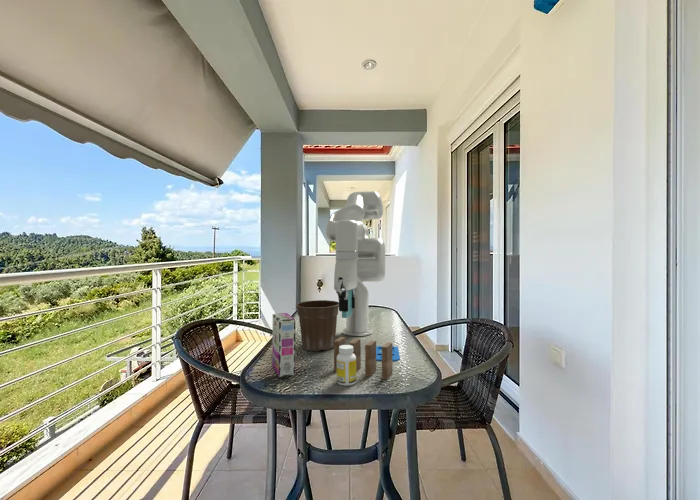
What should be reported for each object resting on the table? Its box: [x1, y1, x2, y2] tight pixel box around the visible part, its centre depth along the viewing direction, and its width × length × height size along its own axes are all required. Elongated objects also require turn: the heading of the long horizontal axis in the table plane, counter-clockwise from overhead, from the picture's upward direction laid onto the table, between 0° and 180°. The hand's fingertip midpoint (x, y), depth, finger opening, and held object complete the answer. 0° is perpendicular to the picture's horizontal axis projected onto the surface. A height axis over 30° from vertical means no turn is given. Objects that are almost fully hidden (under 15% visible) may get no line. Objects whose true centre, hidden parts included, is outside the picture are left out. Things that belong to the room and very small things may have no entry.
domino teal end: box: [341, 289, 352, 319], centre depth 116 cm, size 2×5×9 cm, turn 156°
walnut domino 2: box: [348, 338, 362, 373], centre depth 101 cm, size 2×5×9 cm, turn 156°
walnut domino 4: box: [381, 341, 393, 380], centre depth 97 cm, size 2×5×9 cm, turn 156°
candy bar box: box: [271, 312, 296, 378], centre depth 102 cm, size 11×5×16 cm, turn 23°
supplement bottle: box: [336, 344, 357, 387], centre depth 93 cm, size 5×5×10 cm
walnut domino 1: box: [333, 336, 347, 372], centre depth 103 cm, size 2×5×9 cm, turn 157°
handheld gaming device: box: [376, 345, 401, 362], centre depth 117 cm, size 8×1×15 cm
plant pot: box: [295, 299, 339, 352], centre depth 125 cm, size 16×16×16 cm
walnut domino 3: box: [364, 340, 377, 378], centre depth 99 cm, size 2×5×9 cm, turn 156°
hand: (347, 309), depth 116 cm, fingers closed on domino teal end, 4 cm apart
